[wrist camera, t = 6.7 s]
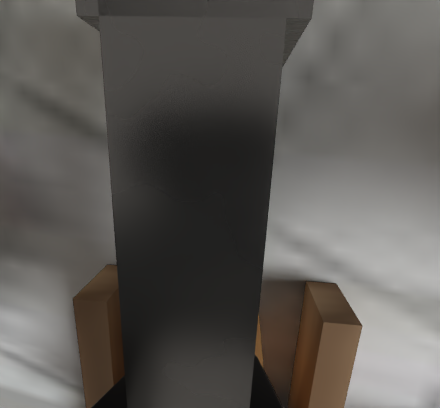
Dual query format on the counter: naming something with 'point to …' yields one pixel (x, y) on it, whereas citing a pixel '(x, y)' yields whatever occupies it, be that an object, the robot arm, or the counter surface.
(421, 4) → the counter surface
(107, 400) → the robot arm
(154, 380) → the gray arch stand
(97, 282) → the wooden frame
